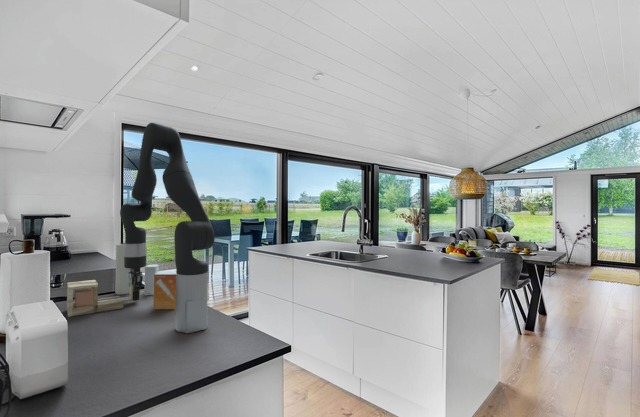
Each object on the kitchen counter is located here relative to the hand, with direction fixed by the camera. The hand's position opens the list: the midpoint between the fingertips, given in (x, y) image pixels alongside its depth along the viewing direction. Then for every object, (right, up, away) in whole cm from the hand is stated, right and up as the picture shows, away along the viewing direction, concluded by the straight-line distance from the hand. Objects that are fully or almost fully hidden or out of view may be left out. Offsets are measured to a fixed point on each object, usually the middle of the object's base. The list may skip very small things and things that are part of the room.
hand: (134, 299), depth 125 cm
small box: (+15, -2, -4) cm, 15 cm away
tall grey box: (-12, -1, +14) cm, 18 cm away
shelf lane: (-9, -1, -8) cm, 12 cm away
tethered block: (-6, 0, -6) cm, 9 cm away
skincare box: (-1, -2, +14) cm, 14 cm away
